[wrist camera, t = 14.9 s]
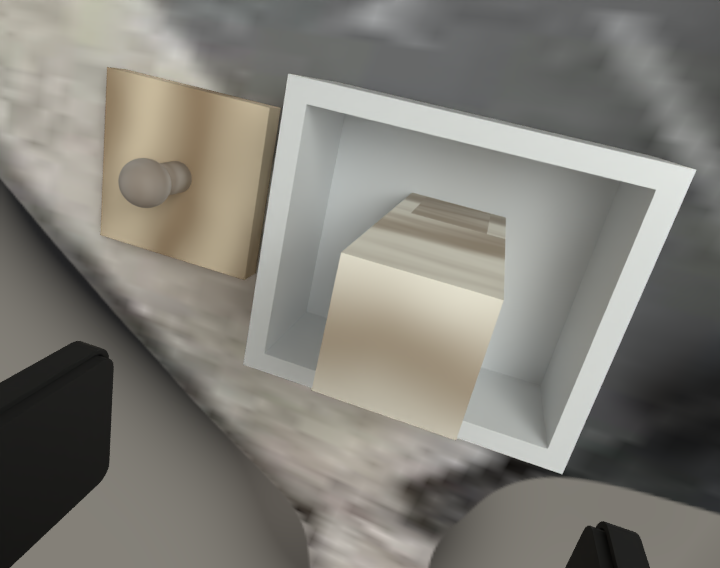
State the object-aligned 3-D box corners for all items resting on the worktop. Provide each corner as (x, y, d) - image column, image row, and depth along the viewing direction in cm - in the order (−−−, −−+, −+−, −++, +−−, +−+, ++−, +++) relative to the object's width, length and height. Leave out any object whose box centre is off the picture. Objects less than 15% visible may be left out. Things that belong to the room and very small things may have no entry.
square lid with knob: (116, 230, 35) (45, 251, 30) (124, 69, 31) (46, 60, 26) (255, 272, 33) (206, 304, 28) (280, 107, 30) (230, 107, 24)
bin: (294, 315, 33) (243, 364, 27) (338, 82, 28) (288, 73, 22) (551, 397, 31) (562, 474, 24) (649, 155, 26) (696, 169, 19)
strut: (412, 192, 28) (341, 252, 16) (506, 217, 27) (503, 300, 15) (390, 279, 30) (311, 390, 18) (477, 304, 29) (455, 440, 17)
